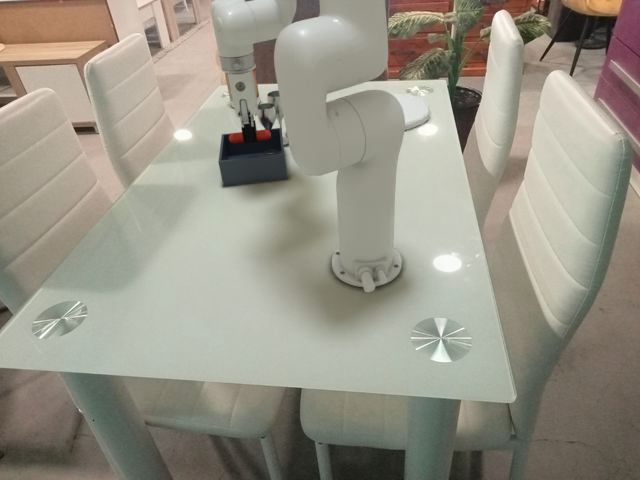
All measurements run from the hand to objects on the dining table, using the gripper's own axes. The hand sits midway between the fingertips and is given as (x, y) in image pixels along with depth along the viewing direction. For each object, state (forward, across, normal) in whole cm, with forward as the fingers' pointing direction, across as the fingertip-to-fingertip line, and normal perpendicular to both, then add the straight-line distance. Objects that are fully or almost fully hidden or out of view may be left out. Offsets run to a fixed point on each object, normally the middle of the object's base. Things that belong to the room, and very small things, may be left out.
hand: (250, 138), depth 115 cm
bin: (+8, 0, 0) cm, 8 cm away
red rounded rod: (+1, 0, 0) cm, 1 cm away
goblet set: (+7, +17, -11) cm, 22 cm away
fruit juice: (+8, +44, +3) cm, 45 cm away
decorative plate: (+8, +23, -38) cm, 45 cm away
